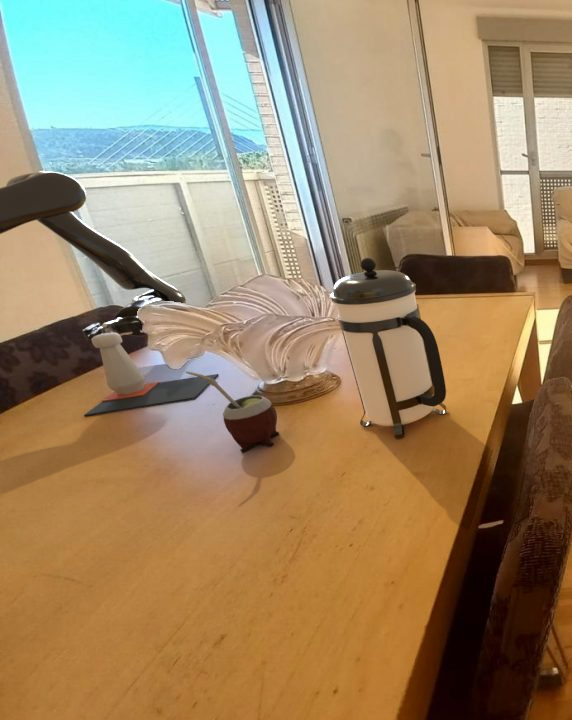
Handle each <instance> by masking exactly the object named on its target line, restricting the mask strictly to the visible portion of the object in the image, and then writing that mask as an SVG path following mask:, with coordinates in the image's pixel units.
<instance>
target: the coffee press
mask: <svg viewBox="0 0 572 720" xmlns="http://www.w3.org/2000/svg"><path fill="white" fill-rule="evenodd" d="M359 266H360V268H361V269H362V270H363V271H361V272H356V273H353V274H349V275H346V276H344V277H342V278H341V279H338V280H337V281H336V282H335V284H334V285H333V288H332V293H331V294H330V299H331V302H333V304H335V307H336V310H337V314H338V316H337V320H338V324H339V326H340V330H341V331H342V332H341V333H342V336H343V339H344V343H345V346H346V350H347V355H348V359H349V361H350V365H351V368H352V372H353V376H354V379H355V383H356V385H357V386H356V387H357V391H358V394H359V397H360V401H361V405H362V409H363V415H362V416H361V419H360V420H359V425H360V426H362V427H365V428H366V427H369V425H370V424H371V423H372V424H375V425H377V426H382V427H393V435H394V438H395V439H399V438H400V439H401V438H405V425H408V424H410V423H414V422H417V421H419V420H421V419H423V418H425V417H426V416H427V415H429V414H430V413H432V412H434V413H436V414H437V415H440V416H442V415H443V416H444V415H445V414H446V413H447V406H446V405H445V404H444V403H443V402H444V401H445V399H446V396H447V388H446V387H447V386H446V381H445V375H444V371H443V370H444V369H443V365H442V360H441V355H440V350H439V347H438V343H437V339H436V337H435V335H434V333H433V330H432V329H431V328H430V326H429V325H428V324H427V322H425V321H424V320H423V319H422V318H421V317H422V316H421V312H420V306H419V304H418V302H417V299H416V291H417V286H416V283H415V282H412V280H411V279H410V277H409V276H408V275H407V274H405V273H403V272H400V271H398V270H389V269H380V270H375V269H376V268H377V267H376V266H377V263H376V262H375V260H374V259H372V258H370V257H365V258H363V259H361V261H360V265H359ZM438 405H439V406H440V407H441V408H442V409H443V410H440V409H438V408H436V406H438ZM365 415H366V417H367V419H368V420H369V421H367V422H366V421H364V420H363V419H364V418H365Z"/></svg>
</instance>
